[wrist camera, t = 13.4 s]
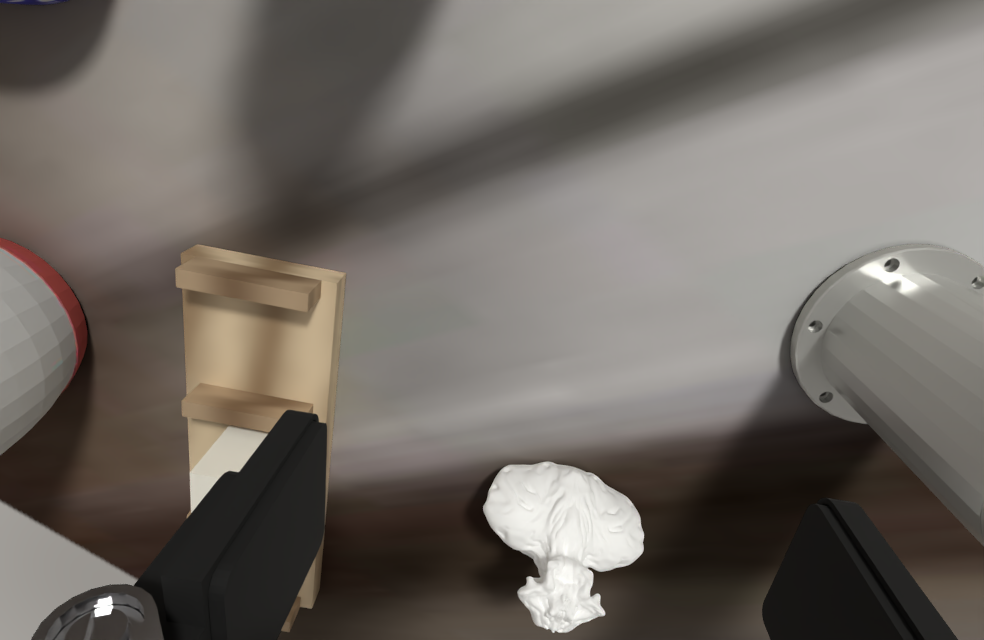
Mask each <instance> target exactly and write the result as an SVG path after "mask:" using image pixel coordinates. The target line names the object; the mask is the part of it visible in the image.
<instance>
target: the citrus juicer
mask: <svg viewBox="0 0 984 640" xmlns="http://www.w3.org/2000/svg"><path fill="white" fill-rule="evenodd" d="M86 346H87V327H86V322H85V317H84V314H83V312H82V309H81V307H80V304H79V302H78V300H77V298H76V297H75V295H74V293H73V292H72V290H71V288H70V287H69V286H68V285H67V283H66V282H65V281H64V280H63V278H62V277H61V276H60V275H59V274H58V273H57V272H56V271H55V270H54V269H53V268H52V267H51V266H50V265H49V264H48V263H46V262H45V261H44V260H43V259H41V258H40V257H38V256H37V255H35V254H34V253H33V252H31V251H30V250H28V249H26V248H24V247H22V246H20V245H18V244H16V243H14V242H12V241H9V240H6V239H2V238H0V455H1V454H3V453H4V452H5V451H6V450H7V449H9V448H10V447H11V446H12V445H13V444H15V443H16V442H17V441H18V440H19V439H21V438H22V437H23V436H24V435H25V434H26V433H27V432H28V431H30V430H31V429H32V428H33V427H34V426H35V424H36V423H37V422H38V421H39V420H40V419H41V418H42V417H43V416H44V415H45V414H46V413H47V412H48V410H49V409H50V408H51V407H52V405H53V404H54V403H55V401H56V400H57V398H58V397H59V395H60V394H61V393H62V392H63V391H65V390H66V389H67V387H68V385H69V384H70V382H71V381H72V379H73V377H74V376H75V374H76V372H77V370H78V368H79V366H80V364H81V361H82V359H83V357H84V353H85V350H86Z"/></svg>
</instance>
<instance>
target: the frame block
mask: <svg viewBox="0 0 984 640" xmlns="http://www.w3.org/2000/svg"><path fill="white" fill-rule="evenodd" d="M268 433H269V432H265V431H260V430H254V429H249V428H244V427H238V426H233V425H229V426H228V427H227V428H226V430H225V431H224V432H223V433H222V435H221V436H220V437H219V438H218V439H217V441H216V442H215V443H214V444H213V445H212V447H211V448H210V449H209V450H208V451H207V453H206V454H205V455H204V456H203V457H202V459H201V460H200V461H199V462H198V463H197V465H196V466H195V467H194V468H193V469H192V471H191V472H190V494H191V513H192V512H193V510H194V509H195V508H196V507H197V505H198V504H199V503H200V502H201V500H202V499H203V498H204V497H205V495H206V494H207V493H208V492H209V490H210V489H211V488H212V487H213V485H214V484H215V483H216V482H217V480H218V479H219V478H220V477H221V476H222V475H223V474H224V473H226V472H228V471H234V472H239V471H240V470H241V469H242V467H243V466H244V465H245V464H246V462H247V461H248V460H249V458H250V457H251V456H252V454H253V453H254V452H255V450H256V449H257V448H258V446H259V445H260V444H261V442H262V441H263V440H264V438H265V437H266V436H267V435H268Z"/></svg>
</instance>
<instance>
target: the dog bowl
mask: <svg viewBox="0 0 984 640" xmlns="http://www.w3.org/2000/svg"><path fill="white" fill-rule="evenodd" d="M65 1H68V0H0V3H8V4H27V5H46V4H56V3H61V2H65Z"/></svg>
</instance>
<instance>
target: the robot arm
mask: <svg viewBox="0 0 984 640" xmlns="http://www.w3.org/2000/svg"><path fill="white" fill-rule="evenodd" d="M811 322H812V323H811ZM790 357H791V363H792V369H793V372H794V374H795V376H796V379H797V381H798V383H799V385H800V386H801V387H802V389H803V390H804V391H805V393H806V394H807V395H808V396H809V397H810V399H811V400H812V401H813V402H814V403H815V404H816V405H817V406H818V407H820V408H821V409H823V410H825V411H826V412H828V413H829V414H831V415H833V416H836V417H838V418H841V419H843V420H846V421H850V422H855V423H861V424H868V425H869V426H870V427H871V428H872V429H873V430H874V431H875V432H876V433H877V434H878V435H879V436H880V437H881V438H882V439H883V441H884V442H885V443H886V444H887V445H888V446H889V447H890V448H891V449H892V450H893V451H894V452H895V453H896V454H897V455H898V456H899V457H900V459H901V460H902V461H903V462H904V463H905V464H906V465H907V466H908V467H909V468H910V469H911V470H912V471H913V472H914V473H915V474H916V475H917V477H918V478H919V479H920V480H921V481H922V482H923V483H924V484H925V485H926V486H927V487H928V488H929V489H930V490H931V491H932V492H933V493H934V495H935V496H936V497H937V498H938V499H939V500H940V501H941V502H942V503H943V504H944V505H945V506H946V507H947V508H948V509H949V510H950V511H951V513H952V514H953V515H954V516H955V517H956V518H957V519H958V520H959V521H960V522H961V523H962V524H963V525H964V526H965V527H966V528H967V530H968V531H969V532H970V533H971V534H972V535H973V536H974V537H975V538H976V539H977V540H978V541H979V542H980V543H981V544H982V545H983V546H984V267H983V266H982V265H981V264H980V263H978V262H976V261H975V260H973V259H971V258H969V257H968V256H966V255H964V254H961V253H959V252H956V251H954V250H951V249H949V248H945V247H940V246H935V245H930V244H907V245H900V246H894V247H888V248H885V249H882V250H879V251H876V252H873V253H870V254H867V255H865V256H863V257H861V258H859V259H857V260H855V261H853V262H851V263H849V264H847V265H846V266H844V267H843V268H842V269H840V270H839V271H837V272H836V273H835V274H833V275H832V276H830V277H829V278H828V279H827V280H826V281H825V282H824V283H823V284H822V285H821V286H820V287H819V288H818V289H817V290H816V291H815V292H814V294H813V295H812V296H811V298H810V299H809V300H808V302H807V303H806V304H805V306H804V307H803V309H802V311H801V313H800V315H799V317H798V319H797V321H796V324H795V327H794V331H793V334H792V338H791V350H790ZM326 459H327V424H326V423H322V422H319V418H318V415H317V414H314V413H308V412H301V411H295V410H286V411H285V412H284V413H283V415H282V416H281V417H280V419H279V420H278V421H277V423H276V424H275V425H274V427H273V428H272V429H271V431H270V432H269V433H268V435H267V436H266V437H265V438H264V440H263V441H262V442H261V444H260V445H259V446H258V448H257V449H256V450H255V452H254V453H253V454H252V456H251V457H250V458H249V460H248V461H247V462H246V464H245V465H244V466H243V467H242V469H241V470H240V471H239V472H234V471H228V472H226V473H224V474H223V475H222V476H221V477H220V478H219V479H218V480H217V482H216V483H215V484H214V485H213V487H212V488H211V489H210V490H209V492H208V493H207V494H206V495H205V497H204V498H203V499H202V500H201V502H200V503H199V504H198V505H197V507H196V508H195V509H194V510H193V512H192V513H191V514H190V515H189V517H188V518H187V519H186V520H185V522H184V523H183V524H182V526H181V527H180V528H179V529H178V531H177V532H176V533H175V534H174V536H173V537H172V538H171V539H170V541H169V542H168V543H167V544H166V546H165V547H164V548H163V549H162V551H161V552H160V553H159V554H158V556H157V557H156V558H155V559H154V561H153V562H152V563H151V564H150V566H149V567H148V568H147V570H146V571H145V572H144V573H143V575H142V576H141V577H140V578H139V580H138V581H137V582H136V583H135V585H134V586H132V585H128V584H120V585H119V584H117V585H106V586H102V587H98V588H94V589H90V590H88V591H86V592H84V593H81V594H79V595H77V596H75V597H72V598H71V599H69V600H68V601H66V602H65V603H63V604H62V605H60V606H59V607H57V608H56V609H55V610H54V611H53V612H52V613H51V614H50V615H49V616H48V617H47V618H46V619H44V620H43V621H42V622H41V624H40V625H39V627H38V629H37V630H36V632H35V633H34V635H33V637H32V639H31V640H277V638H278V636H279V634H280V632H281V630H282V627H283V625H284V623H285V621H286V619H287V617H288V615H289V612H290V610H291V608H292V606H293V604H294V602H295V600H296V598H297V595H298V593H299V591H300V589H301V587H302V585H303V583H304V580H305V578H306V576H307V574H308V572H309V570H310V568H311V566H312V563H313V561H314V559H315V557H316V555H317V553H318V551H319V548H320V546H321V543H322V540H323V536H324V529H325V497H326ZM762 615H763V621H764V624H765V627H766V629H767V632H768V634H769V637H770V639H771V640H958V639H957V638H956V636H955V635H954V633H953V632H952V631H951V629H950V628H949V627H948V625H947V624H946V623H945V621H944V620H943V618H942V617H941V616H940V614H939V613H938V612H937V610H936V609H935V607H934V606H933V605H932V603H931V602H930V601H929V599H928V598H927V597H926V595H925V594H924V592H923V591H922V590H921V588H920V587H919V586H918V584H917V583H916V581H915V580H914V579H913V577H912V576H911V575H910V573H909V572H908V571H907V569H906V568H905V566H904V565H903V564H902V562H901V561H900V560H899V558H898V557H897V555H896V554H895V553H894V551H893V550H892V549H891V547H890V546H889V545H888V543H887V542H886V540H885V539H884V538H883V536H882V535H881V534H880V532H879V531H878V529H877V528H876V527H875V525H874V524H873V523H872V521H871V520H870V519H869V517H868V516H867V514H866V513H865V512H864V510H863V509H862V508H861V507H860V506H859V505H858V504H856V503H854V502H849V501H842V500H836V499H830V498H821V499H820V500H819V501H818V502H817V503H816V504H811V505H809V506H808V508H807V510H806V512H805V514H804V516H803V518H802V520H801V522H800V525H799V527H798V529H797V531H796V533H795V535H794V538H793V540H792V542H791V544H790V546H789V548H788V550H787V553H786V555H785V557H784V559H783V561H782V563H781V566H780V568H779V570H778V572H777V574H776V576H775V578H774V581H773V583H772V585H771V587H770V589H769V591H768V593H767V596H766V598H765V600H764V603H763V608H762Z"/></svg>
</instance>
